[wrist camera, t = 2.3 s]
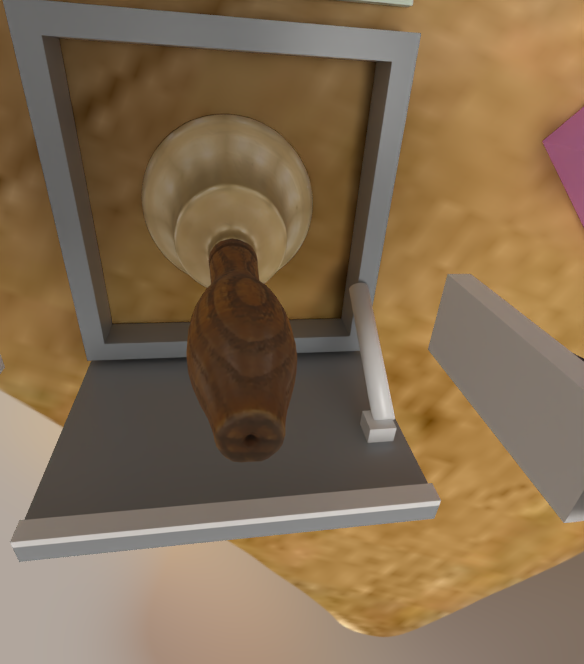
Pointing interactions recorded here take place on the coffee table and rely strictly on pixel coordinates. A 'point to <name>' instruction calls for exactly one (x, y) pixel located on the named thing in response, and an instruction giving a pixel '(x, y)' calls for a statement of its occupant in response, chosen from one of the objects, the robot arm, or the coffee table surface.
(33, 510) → the hatch
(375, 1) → the pad
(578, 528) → the coffee table surface
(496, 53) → the coffee table surface
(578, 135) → the bracket
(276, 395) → the hand bell
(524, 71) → the coffee table surface
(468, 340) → the robot arm
